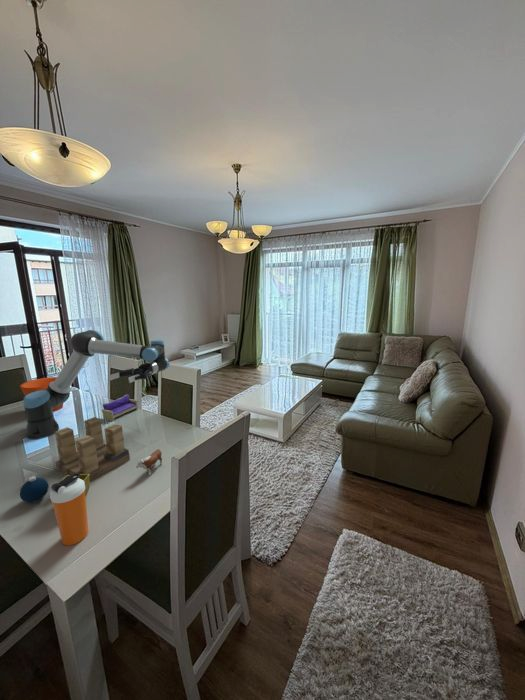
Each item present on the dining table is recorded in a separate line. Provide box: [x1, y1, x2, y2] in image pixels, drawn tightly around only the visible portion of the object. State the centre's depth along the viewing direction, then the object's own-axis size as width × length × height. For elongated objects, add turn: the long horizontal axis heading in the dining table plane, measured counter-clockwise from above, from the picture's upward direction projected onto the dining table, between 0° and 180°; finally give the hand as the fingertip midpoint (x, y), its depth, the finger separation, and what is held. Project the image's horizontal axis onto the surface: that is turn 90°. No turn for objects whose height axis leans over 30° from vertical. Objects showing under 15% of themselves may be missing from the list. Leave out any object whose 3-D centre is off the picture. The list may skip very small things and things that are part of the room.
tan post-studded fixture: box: [54, 416, 131, 484], centre depth 127 cm, size 24×20×17 cm
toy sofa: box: [101, 394, 139, 422], centre depth 182 cm, size 21×9×10 cm, turn 156°
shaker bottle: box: [49, 474, 89, 546], centre depth 87 cm, size 9×9×20 cm
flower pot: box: [60, 474, 91, 498], centre depth 103 cm, size 9×9×9 cm
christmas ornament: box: [19, 475, 49, 503], centre depth 105 cm, size 8×8×10 cm
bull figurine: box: [135, 449, 163, 477], centre depth 122 cm, size 4×13×8 cm, turn 158°
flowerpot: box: [19, 376, 64, 413], centre depth 191 cm, size 25×25×20 cm
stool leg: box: [104, 423, 126, 457], centre depth 128 cm, size 5×5×14 cm
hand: (118, 379), depth 143 cm, fingers open, 13 cm apart
